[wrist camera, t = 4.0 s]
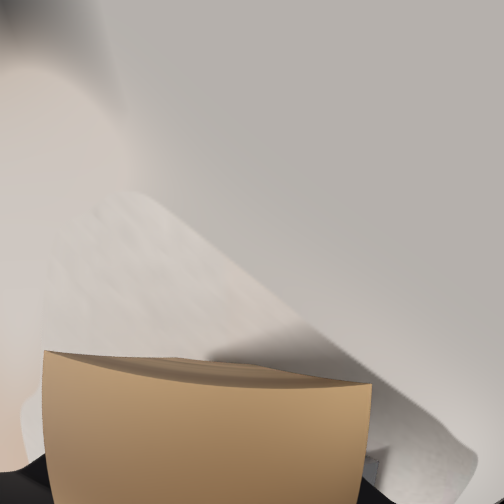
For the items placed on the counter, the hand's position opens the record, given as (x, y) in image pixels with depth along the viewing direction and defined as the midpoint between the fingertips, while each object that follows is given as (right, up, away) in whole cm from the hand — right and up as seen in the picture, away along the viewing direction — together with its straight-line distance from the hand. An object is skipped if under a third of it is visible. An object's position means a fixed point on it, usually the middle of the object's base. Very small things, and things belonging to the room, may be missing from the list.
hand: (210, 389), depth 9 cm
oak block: (-1, -4, +6) cm, 7 cm away
